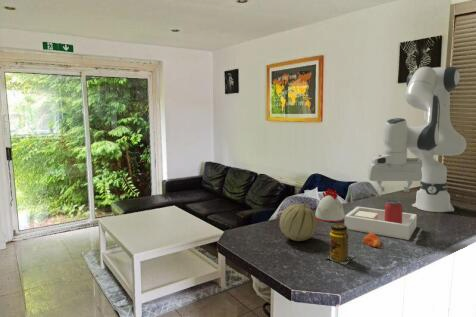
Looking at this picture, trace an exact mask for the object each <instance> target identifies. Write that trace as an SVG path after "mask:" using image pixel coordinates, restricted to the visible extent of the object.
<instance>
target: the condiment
mask: <svg viewBox="0 0 476 317" xmlns="http://www.w3.org/2000/svg"><path fill="white" fill-rule="evenodd" d="M329 256H330V259H331V260H333V261H335V262H334V263H336V262H337V263H336V264H342V265H344V266H345V265H347V264H348V263H349V262H350V261H351V260H352V259H354V257H355V255H352V254H351V255H350V254H349V234H348V229H347V226H345V225H344V223H332V224H331V225H330V232H329ZM347 258H349V260H348V259H347ZM333 261H332V262H333ZM338 262H343V263H338Z"/></svg>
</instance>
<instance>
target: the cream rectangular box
mask: <svg viewBox="0 0 476 317" xmlns="http://www.w3.org/2000/svg"><path fill="white" fill-rule="evenodd" d="M354 216H355V217H361V218H368V219H374V220H378V213H372V212H365V211H359V212H357V213H356V214H355V215H354Z"/></svg>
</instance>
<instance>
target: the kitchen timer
mask: <svg viewBox="0 0 476 317" xmlns="http://www.w3.org/2000/svg"><path fill="white" fill-rule="evenodd" d="M338 195H339V192H337V191H336V189H335V190H334V191H333V189H330V188H328V189H326V190H324V192H322V196H323V197H322V199H321V200H320V201H319V203H318V204H317V207H316V211H315V213H314V214H315V216H316V220H317V222H319V221H320V222H321V221H322V222H328V223H336V222H337V223H339V222H342V221H344V216H345V215H346V214H345V213H346V212H345V210H344V207H343V204H342V202H341V201H340V200H339V199H338Z"/></svg>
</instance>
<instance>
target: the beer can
mask: <svg viewBox="0 0 476 317" xmlns="http://www.w3.org/2000/svg"><path fill="white" fill-rule="evenodd" d="M384 210H385V221H387V222H394V223H400V224H402V212H403V205H402V202H401V201H400V200H387V201H386V203H385V205H384Z"/></svg>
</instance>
